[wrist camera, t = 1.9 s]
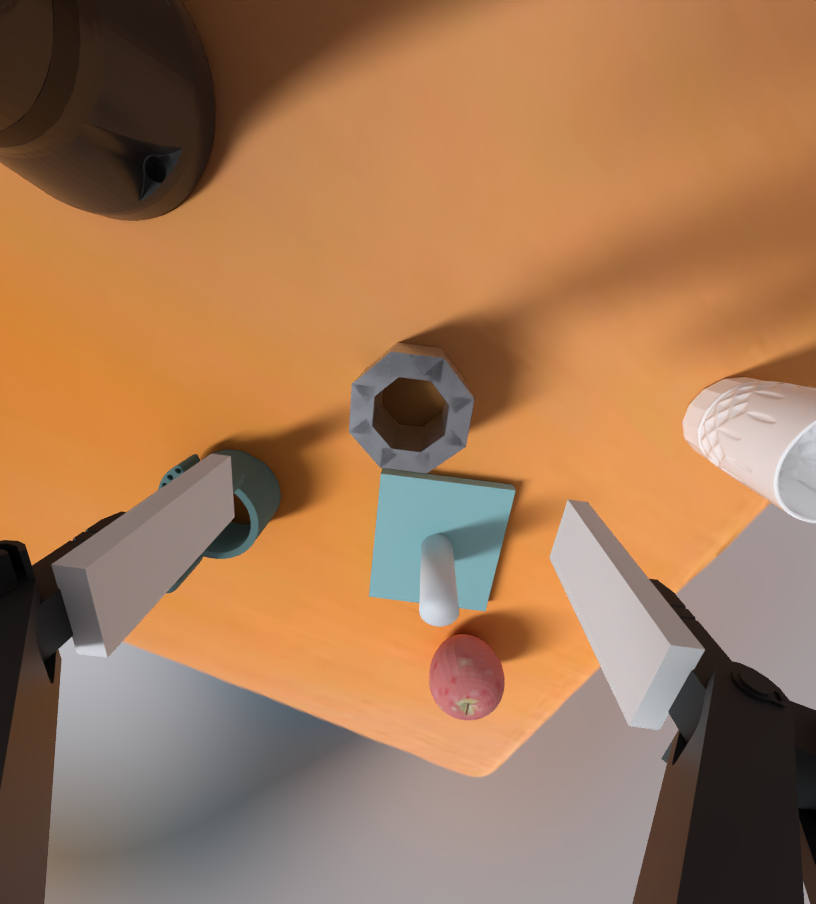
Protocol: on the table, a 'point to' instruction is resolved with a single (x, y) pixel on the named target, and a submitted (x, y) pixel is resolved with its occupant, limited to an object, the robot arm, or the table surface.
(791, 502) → the white cup
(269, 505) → the bracket
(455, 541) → the stand
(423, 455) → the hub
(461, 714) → the apple
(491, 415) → the table surface
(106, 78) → the robot arm
